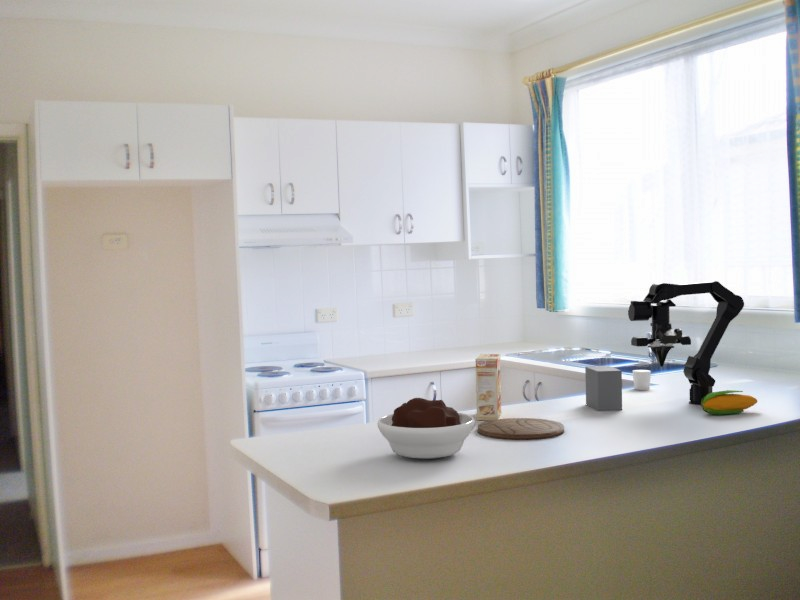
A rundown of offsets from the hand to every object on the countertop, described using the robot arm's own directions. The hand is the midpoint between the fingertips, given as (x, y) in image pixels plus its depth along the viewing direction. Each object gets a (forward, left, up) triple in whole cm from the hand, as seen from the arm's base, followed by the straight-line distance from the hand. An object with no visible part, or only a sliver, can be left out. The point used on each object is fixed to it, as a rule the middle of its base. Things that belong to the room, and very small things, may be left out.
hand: (661, 366), depth 278 cm
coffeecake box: (+33, +51, -13) cm, 62 cm away
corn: (-24, +2, -13) cm, 27 cm away
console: (+13, +15, -13) cm, 24 cm away
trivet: (+11, +64, -14) cm, 67 cm away
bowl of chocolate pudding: (+11, +104, -13) cm, 106 cm away
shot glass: (+23, -29, -13) cm, 39 cm away
